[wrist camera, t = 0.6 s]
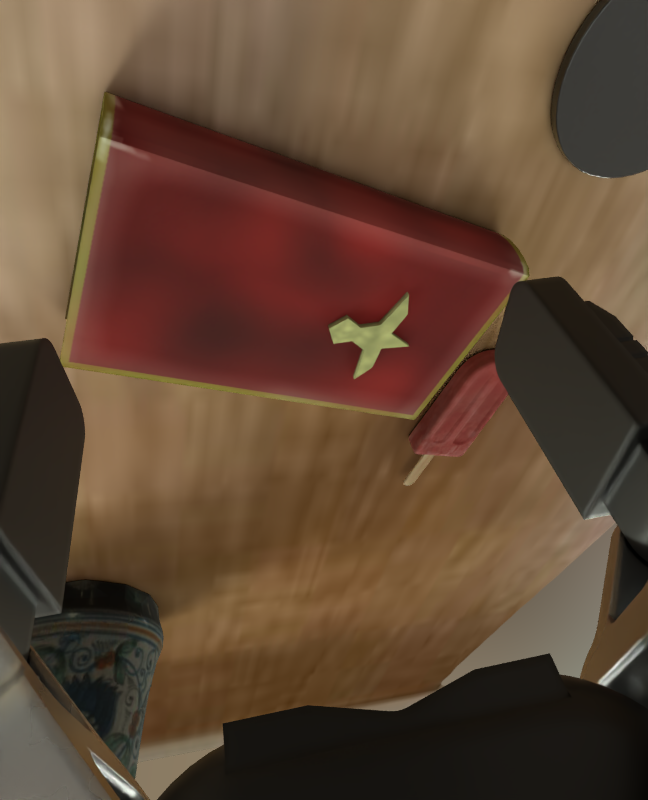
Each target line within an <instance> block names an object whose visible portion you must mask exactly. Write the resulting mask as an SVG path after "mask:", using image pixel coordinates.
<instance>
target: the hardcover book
mask: <svg viewBox="0 0 648 800" xmlns="http://www.w3.org/2000/svg"><path fill="white" fill-rule="evenodd" d="M528 277H529V268H528V266H527V263H526V261H525V259H524V257H523V255H522V254H521V252H520V251H519V249H518V248H517V247H516V246H515V244H514V243H513V242H512V241H511V240H509V239H508V238H507V237H505V236H504V235H501V234H499V233H496V232H493V231H490V230H487V229H485V228H482V227H479V226H476V225H474V224H471V223H468V222H465V221H462V220H460V219H457V218H454V217H451V216H449V215H446V214H443V213H440V212H437V211H435V210H432V209H429V208H426V207H424V206H421V205H418V204H415V203H412V202H410V201H407V200H404V199H401V198H399V197H396V196H393V195H390V194H387V193H385V192H382V191H379V190H376V189H374V188H371V187H368V186H365V185H362V184H360V183H357V182H354V181H351V180H349V179H346V178H343V177H340V176H337V175H335V174H332V173H329V172H326V171H324V170H321V169H318V168H315V167H312V166H310V165H307V164H304V163H301V162H299V161H296V160H293V159H290V158H288V157H285V156H282V155H279V154H276V153H274V152H271V151H268V150H265V149H263V148H260V147H257V146H254V145H251V144H249V143H246V142H243V141H240V140H238V139H235V138H232V137H229V136H226V135H224V134H221V133H218V132H215V131H213V130H210V129H207V128H204V127H201V126H199V125H196V124H193V123H190V122H188V121H185V120H182V119H179V118H176V117H174V116H171V115H168V114H165V113H163V112H160V111H157V110H154V109H151V108H149V107H146V106H143V105H140V104H138V103H135V102H132V101H129V100H126V99H124V98H121V97H118V96H115V95H113V94H110V93H107V92H105V93H104V98H103V104H102V109H101V115H100V121H99V127H98V132H97V138H96V144H95V150H94V155H93V161H92V167H91V173H90V178H89V184H88V190H87V196H86V201H85V207H84V213H83V219H82V224H81V230H80V236H79V242H78V247H77V253H76V259H75V265H74V270H73V276H72V282H71V288H70V293H69V299H68V305H67V311H66V317H65V319H67V321H66V327H65V333H64V338H63V344H62V350H61V355H60V362H61V364H62V366H63V367H68V368H75V369H81V370H88V371H94V372H101V373H108V374H114V375H121V376H127V377H134V378H141V379H147V380H154V381H160V382H167V383H174V384H180V385H187V386H193V387H200V388H207V389H213V390H220V391H226V392H233V393H240V394H246V395H253V396H259V397H266V398H273V399H279V400H286V401H292V402H299V403H306V404H312V405H319V406H325V407H332V408H339V409H345V410H352V411H358V412H365V413H372V414H378V415H385V416H392V417H398V418H405V419H411V420H415V419H416V418H417V416H418V415H419V414H420V413H421V411H422V410H423V409H424V407H425V406H426V405H427V404H428V402H429V401H430V400H431V399H432V397H433V396H434V395H435V394H436V392H437V391H438V390H439V389H440V387H441V386H442V385H443V384H444V382H445V381H446V380H447V379H448V377H449V376H450V375H451V374H452V372H453V371H454V370H455V369H456V367H457V366H458V365H459V364H460V362H461V361H462V360H463V359H464V357H465V356H466V355H467V354H468V352H469V351H470V350H471V349H472V347H473V346H474V345H475V344H476V342H477V341H478V340H479V339H480V337H481V336H482V335H483V334H484V332H485V331H486V330H487V329H488V327H489V326H490V325H491V324H492V322H493V321H494V320H495V319H496V317H497V316H498V315H499V313H500V312H501V311H502V310H503V308H504V307H505V306H506V305H507V302H508V299H509V295H510V292H511V289H512V287H513V286H514V284H515V283H517V282H519V281H526V280H527V278H528Z"/></svg>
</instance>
